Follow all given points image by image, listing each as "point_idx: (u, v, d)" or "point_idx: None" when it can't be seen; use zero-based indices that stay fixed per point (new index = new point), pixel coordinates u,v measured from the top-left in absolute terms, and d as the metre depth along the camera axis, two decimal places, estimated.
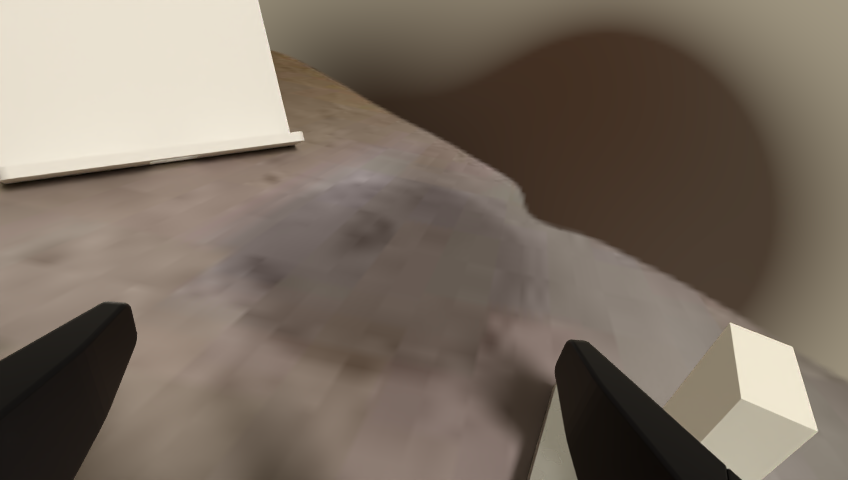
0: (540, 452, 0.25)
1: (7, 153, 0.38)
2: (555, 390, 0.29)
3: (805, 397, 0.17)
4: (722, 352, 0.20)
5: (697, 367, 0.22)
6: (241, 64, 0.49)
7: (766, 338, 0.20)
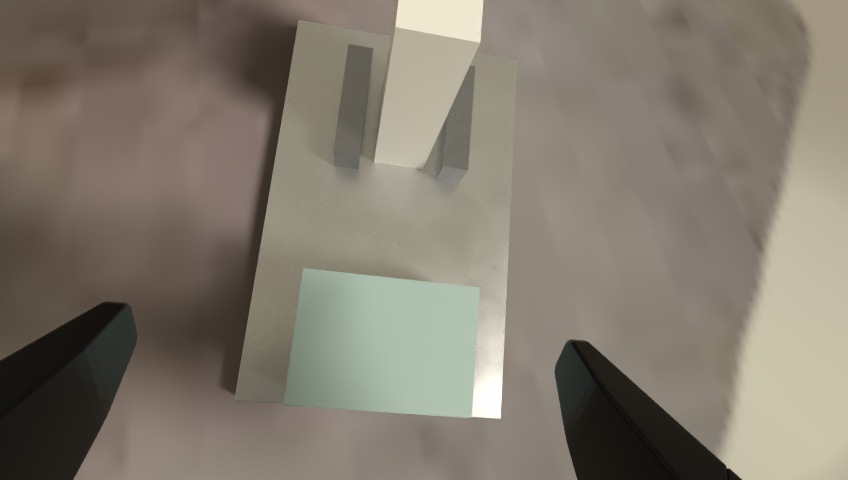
0: (285, 117, 0.23)
1: None
2: (297, 35, 0.24)
3: None
4: None
5: None
6: None
7: None
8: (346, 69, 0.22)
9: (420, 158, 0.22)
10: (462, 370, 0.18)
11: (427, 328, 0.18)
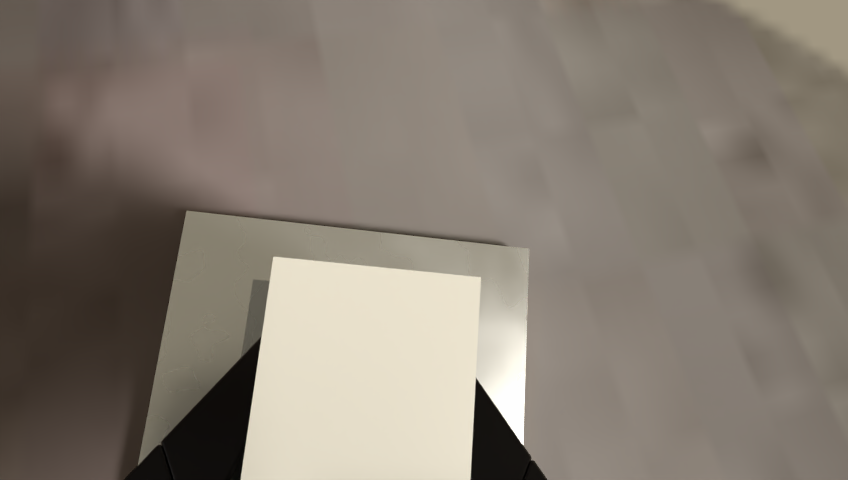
0: (158, 384, 0.14)
1: None
2: (183, 238, 0.15)
3: None
4: None
5: None
6: None
7: (396, 280, 0.06)
8: (248, 327, 0.13)
9: None
10: None
11: None
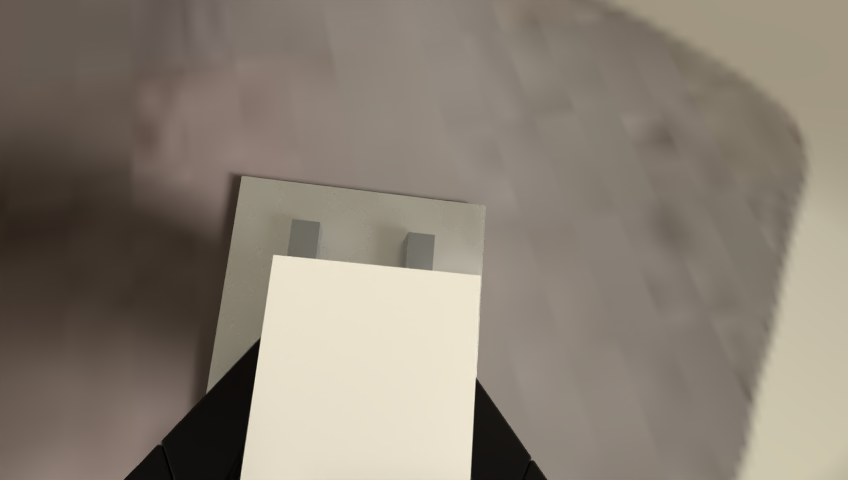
0: (226, 292, 0.21)
1: None
2: (240, 194, 0.22)
3: None
4: None
5: None
6: None
7: (396, 278, 0.06)
8: (289, 250, 0.20)
9: None
10: None
11: None
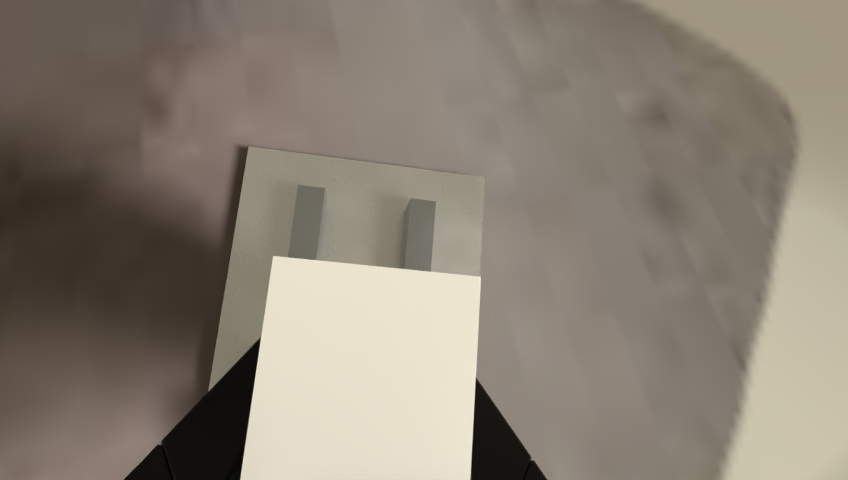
0: (233, 258, 0.22)
1: None
2: (246, 164, 0.23)
3: None
4: None
5: None
6: None
7: (396, 279, 0.06)
8: (295, 214, 0.20)
9: None
10: None
11: None
